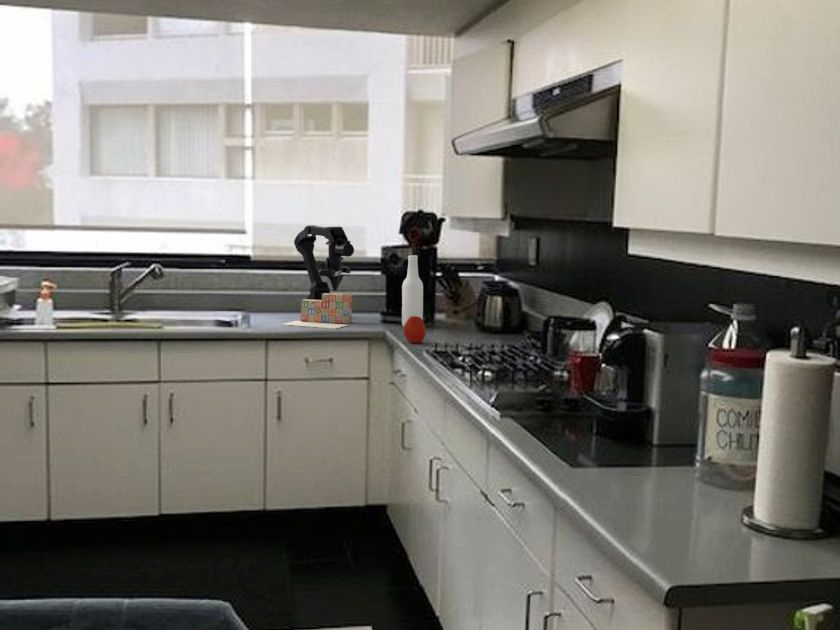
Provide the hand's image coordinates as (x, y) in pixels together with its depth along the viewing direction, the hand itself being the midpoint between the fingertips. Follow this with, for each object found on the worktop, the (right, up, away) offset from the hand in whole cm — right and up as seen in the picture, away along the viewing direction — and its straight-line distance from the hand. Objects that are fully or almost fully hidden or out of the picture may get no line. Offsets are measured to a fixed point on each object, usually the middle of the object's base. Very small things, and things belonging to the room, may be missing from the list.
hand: (335, 290), depth 400 cm
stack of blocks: (-3, -14, -6) cm, 15 cm away
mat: (-7, -15, -15) cm, 22 cm away
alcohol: (+34, -16, -15) cm, 40 cm away
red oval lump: (+35, -21, -57) cm, 71 cm away
